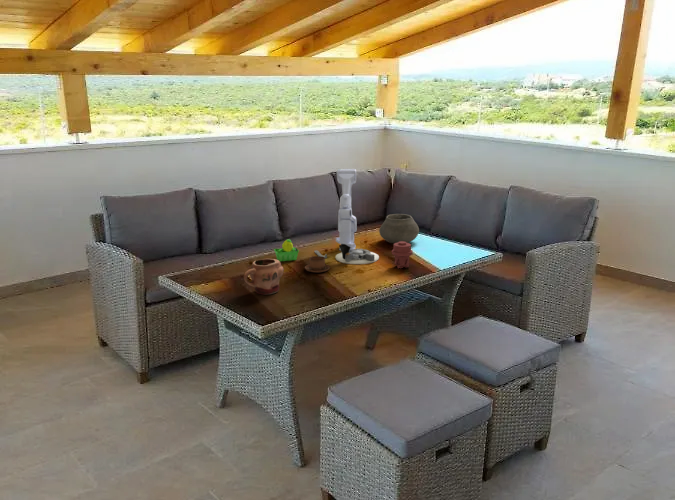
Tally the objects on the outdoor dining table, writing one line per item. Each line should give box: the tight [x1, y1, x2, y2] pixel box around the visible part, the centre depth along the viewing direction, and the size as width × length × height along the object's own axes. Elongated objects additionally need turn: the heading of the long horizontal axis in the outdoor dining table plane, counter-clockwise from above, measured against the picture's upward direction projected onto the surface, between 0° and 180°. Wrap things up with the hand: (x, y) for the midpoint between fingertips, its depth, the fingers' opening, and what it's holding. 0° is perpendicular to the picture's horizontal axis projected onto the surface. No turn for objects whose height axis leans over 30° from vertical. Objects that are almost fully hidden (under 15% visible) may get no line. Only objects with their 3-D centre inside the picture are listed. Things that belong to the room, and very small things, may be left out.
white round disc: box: [335, 250, 380, 265], centre depth 309 cm, size 22×22×4 cm
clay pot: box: [378, 213, 420, 244], centre depth 336 cm, size 22×21×15 cm
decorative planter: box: [243, 258, 285, 296], centre depth 257 cm, size 20×12×14 cm, turn 139°
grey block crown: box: [345, 248, 372, 262], centre depth 307 cm, size 13×17×4 cm
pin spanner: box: [314, 249, 328, 259], centre depth 315 cm, size 13×3×2 cm, turn 17°
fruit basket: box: [273, 238, 300, 262], centre depth 305 cm, size 11×9×11 cm
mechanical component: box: [391, 241, 414, 269], centre depth 292 cm, size 12×10×10 cm
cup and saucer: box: [304, 255, 331, 274], centre depth 289 cm, size 12×12×6 cm
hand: (345, 258), depth 303 cm, fingers closed
